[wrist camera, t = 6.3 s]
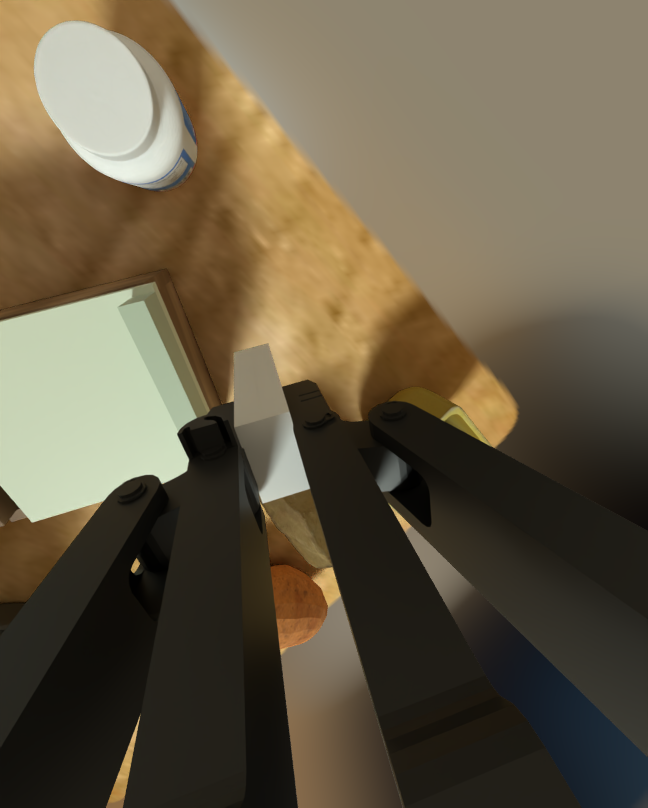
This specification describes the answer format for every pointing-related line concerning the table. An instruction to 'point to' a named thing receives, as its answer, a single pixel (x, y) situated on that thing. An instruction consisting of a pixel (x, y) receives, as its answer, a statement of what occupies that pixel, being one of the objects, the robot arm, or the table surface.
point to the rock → (300, 526)
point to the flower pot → (439, 410)
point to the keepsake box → (3, 506)
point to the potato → (296, 605)
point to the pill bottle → (115, 105)
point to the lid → (92, 400)
